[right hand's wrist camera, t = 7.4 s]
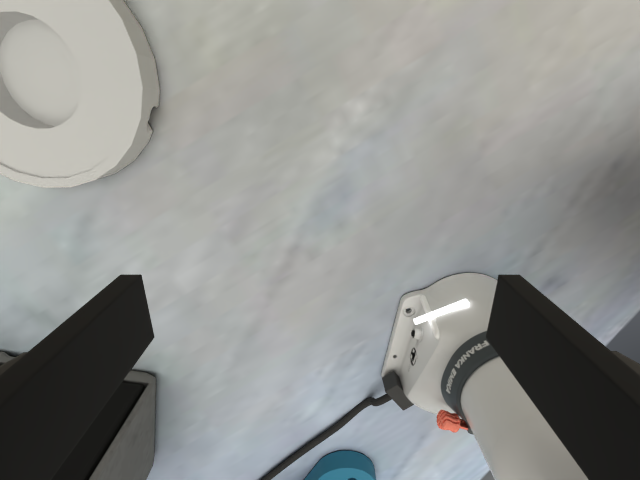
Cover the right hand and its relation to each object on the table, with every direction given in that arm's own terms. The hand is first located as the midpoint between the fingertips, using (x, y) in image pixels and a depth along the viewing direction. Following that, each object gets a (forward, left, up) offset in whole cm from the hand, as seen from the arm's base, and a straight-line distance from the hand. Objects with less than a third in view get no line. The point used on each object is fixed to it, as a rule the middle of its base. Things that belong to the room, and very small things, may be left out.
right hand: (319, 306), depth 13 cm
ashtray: (-10, -29, -31) cm, 44 cm away
